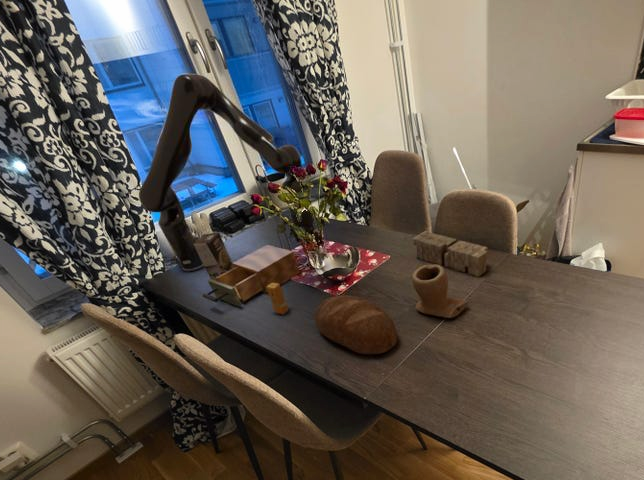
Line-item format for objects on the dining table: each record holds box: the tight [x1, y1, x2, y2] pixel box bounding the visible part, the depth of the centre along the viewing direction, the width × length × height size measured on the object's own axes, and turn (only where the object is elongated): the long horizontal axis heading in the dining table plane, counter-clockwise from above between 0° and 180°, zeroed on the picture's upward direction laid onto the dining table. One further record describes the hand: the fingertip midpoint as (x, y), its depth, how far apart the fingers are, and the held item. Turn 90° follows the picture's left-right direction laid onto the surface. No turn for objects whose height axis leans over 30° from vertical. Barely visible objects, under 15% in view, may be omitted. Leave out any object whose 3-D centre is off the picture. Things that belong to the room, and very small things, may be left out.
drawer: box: [202, 267, 264, 307], centre depth 136 cm, size 20×14×7 cm, turn 146°
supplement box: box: [266, 283, 289, 315], centre depth 126 cm, size 3×3×10 cm
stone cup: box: [411, 263, 469, 319], centre depth 115 cm, size 15×12×15 cm
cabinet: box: [232, 244, 301, 294], centre depth 144 cm, size 16×15×9 cm
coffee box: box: [194, 232, 234, 281], centre depth 146 cm, size 9×6×16 cm
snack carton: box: [302, 241, 314, 269], centre depth 147 cm, size 5×3×13 cm, turn 56°
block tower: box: [412, 230, 489, 278], centre depth 141 cm, size 8×8×29 cm
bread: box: [314, 294, 398, 355], centre depth 112 cm, size 16×29×11 cm, turn 50°
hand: (312, 254), depth 147 cm, fingers closed on snack carton, 5 cm apart
